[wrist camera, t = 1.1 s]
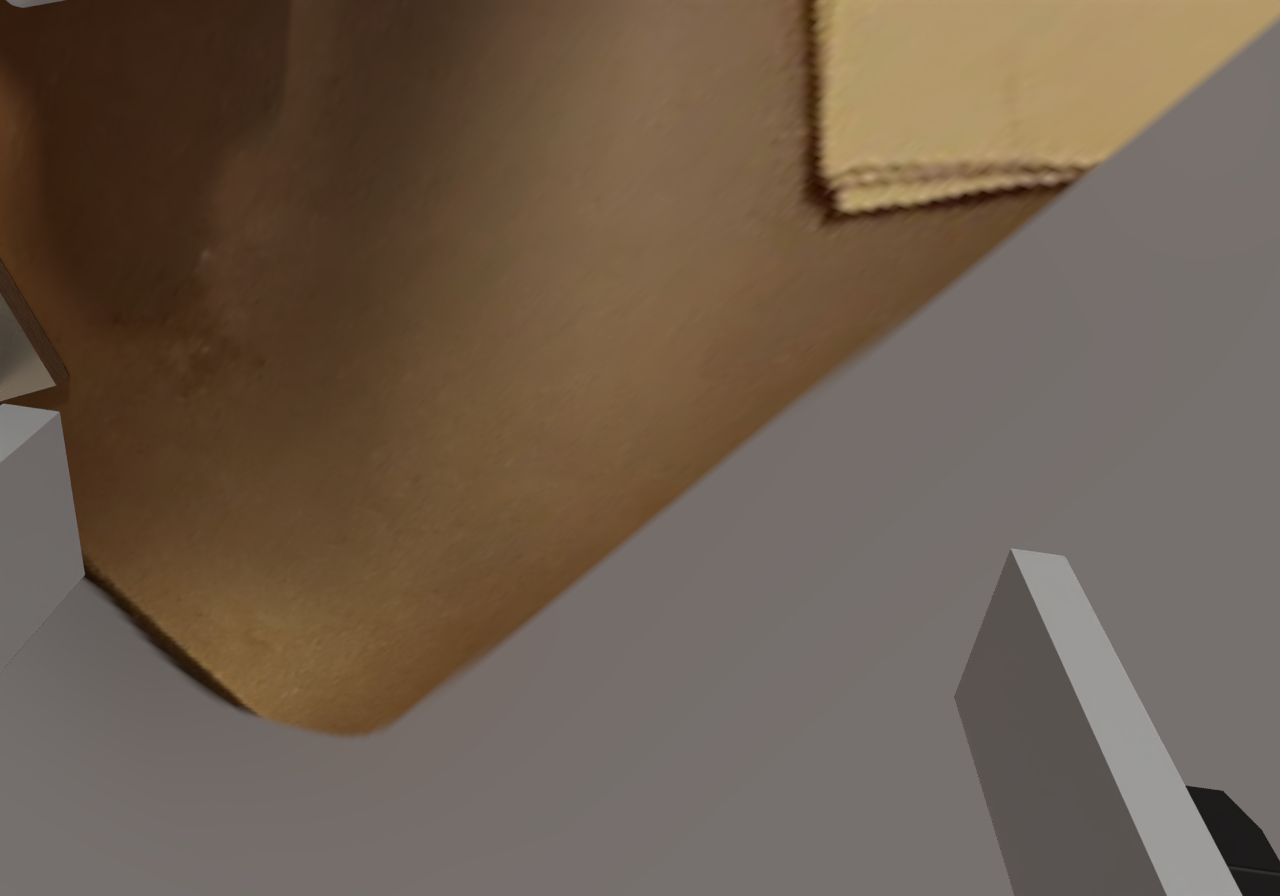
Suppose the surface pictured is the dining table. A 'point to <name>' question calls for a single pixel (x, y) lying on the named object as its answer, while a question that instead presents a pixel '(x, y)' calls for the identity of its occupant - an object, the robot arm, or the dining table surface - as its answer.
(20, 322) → the rail
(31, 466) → the robot arm
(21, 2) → the container
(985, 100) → the dining table surface
